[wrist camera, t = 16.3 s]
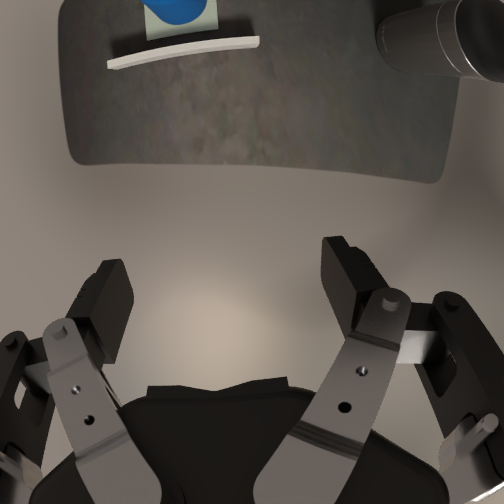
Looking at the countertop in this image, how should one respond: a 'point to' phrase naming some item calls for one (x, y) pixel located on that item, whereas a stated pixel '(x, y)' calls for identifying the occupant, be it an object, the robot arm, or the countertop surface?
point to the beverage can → (176, 10)
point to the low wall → (184, 50)
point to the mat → (202, 23)
